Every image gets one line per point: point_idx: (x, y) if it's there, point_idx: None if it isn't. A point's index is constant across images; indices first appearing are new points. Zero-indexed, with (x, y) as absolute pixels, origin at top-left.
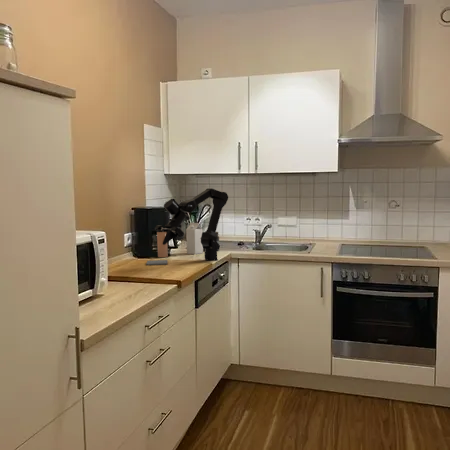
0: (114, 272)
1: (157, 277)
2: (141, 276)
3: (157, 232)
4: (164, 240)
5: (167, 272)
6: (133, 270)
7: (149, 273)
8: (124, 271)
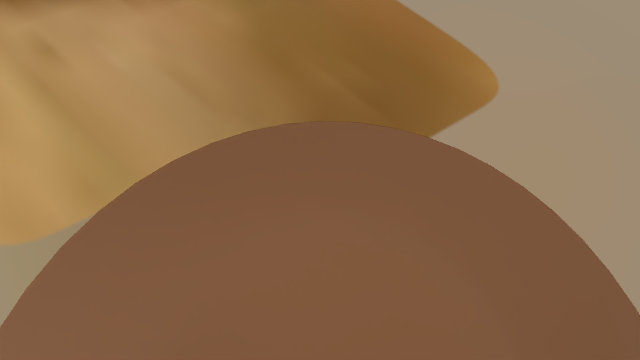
0: (427, 32)
1: (16, 24)
2: (157, 9)
3: (465, 162)
4: None
5: (61, 199)
6: None
7: (183, 102)
8: (407, 79)
